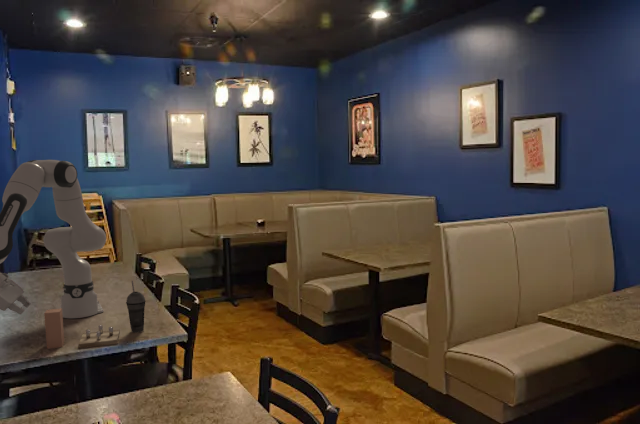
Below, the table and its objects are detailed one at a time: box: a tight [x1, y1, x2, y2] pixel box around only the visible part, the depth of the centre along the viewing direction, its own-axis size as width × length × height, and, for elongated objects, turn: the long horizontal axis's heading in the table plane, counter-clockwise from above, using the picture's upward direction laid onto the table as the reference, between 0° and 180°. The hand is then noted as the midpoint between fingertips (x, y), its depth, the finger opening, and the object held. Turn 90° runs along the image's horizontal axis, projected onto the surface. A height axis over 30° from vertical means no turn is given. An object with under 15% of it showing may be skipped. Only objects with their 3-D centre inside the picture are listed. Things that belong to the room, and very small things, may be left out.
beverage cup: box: [125, 280, 146, 334], centre depth 206 cm, size 7×7×20 cm
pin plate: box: [78, 324, 121, 349], centre depth 196 cm, size 13×13×4 cm
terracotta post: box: [43, 307, 66, 350], centre depth 191 cm, size 5×5×13 cm
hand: (26, 309), depth 188 cm, fingers open, 8 cm apart
